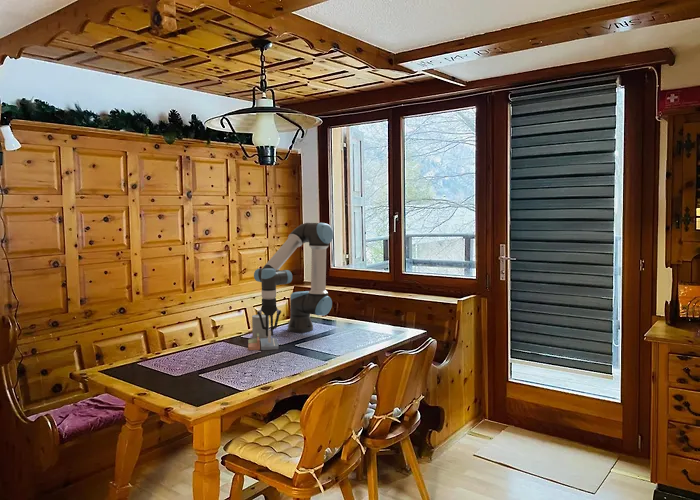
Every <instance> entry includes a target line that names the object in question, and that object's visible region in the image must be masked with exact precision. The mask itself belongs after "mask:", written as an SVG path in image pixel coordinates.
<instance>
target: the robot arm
mask: <svg viewBox="0 0 700 500" xmlns="http://www.w3.org/2000/svg"><path fill="white" fill-rule="evenodd" d="M333 239H334V231H333V228H332V227H331V225H330V224H328V223H325V222H304V223H302V224H300V225H298V226H297V227H296V228H294V229H293V230H292V231H291V232H290V233H289V234H288V237H287V239H286V240H285V242H284V243H283V244H282V245H281V246H280V247H279V248H278V249H277V251H275V253H274V254H273V256H272V257H271V258H270V259H269V260H268V261H267V262H266V264H265V265H264V266H262V267H261V268H257V269H255V270H254V273H253V279H254V280H255V282H258V283H261V308H260V309H259V310H257V311H256V315H257V314H258V315H259V318H260V321H261V325H262V329H265V330H266V336H268V343H271V338H272V337H273V336H274V330H276V329H277V327H278V322H279V318H280V315H281V314H282V310H281V309H278V307H277V298H276V297H277V286H281V285H288V284H290V283H291V282H292V281H293V274H292V272H291V270H289V269H283V270H280V269H281V268H282V267H283V265H284V264H285V263H286V262H287V260H289V258H291V256H292V255H293V254H294V252H295V251H296V250H297V248H300V247H302V245H303V244H306V243H308V247H310V249H311V261H310V262H311V263H310V264H311V265H310V266H311V267H310V290H305V291H304V290H303V291H295V292H292V293H291V294H290V299H289V300H290V302H289V303H290V306H289V307H290V318H289V322H288V325H287V331H289V332H292V333H307V332H311V331H313V330H314V325H313V321H312V319H311V315H315V316H317V317H318V316H319V317H320V316H326V315H328V314H329V313H330V311H331V309H332V307H333V301H332V298H331V297H330V296H329V292H328V290H326V287H327V286H326V285H327V283H326V282H327V281H326V280H327V279H326V278H327V275H326V274H327V249H328V248H329V247H330V244H331V243H332V241H333ZM275 313H276V317H275V321H274V315H275ZM261 314H264V315H265V316H266V327H264V323H263V319H262V316H261ZM268 316H269V322H270V328H269V329H268Z"/></svg>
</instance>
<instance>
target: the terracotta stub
mask: <svg viewBox="0 0 700 500" xmlns="http://www.w3.org/2000/svg"><path fill="white" fill-rule="evenodd" d="M247 347H248V348H247V349H248V351H259V350H261V343H260V339H259V337H257V343H248V345H247Z"/></svg>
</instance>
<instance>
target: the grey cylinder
mask: <svg viewBox="0 0 700 500" xmlns="http://www.w3.org/2000/svg"><path fill="white" fill-rule="evenodd" d="M261 316H262V319H263V323H264V327H266V316H265V315H264V313H262V314H261ZM251 318H252V319H251V320H252V321H251V322H252V323H251V325H252V328H251V330H252V332H251V333H252V337H251V339H257V333H259V340H260V339H263V338H268V336H266V330H265V329H262V325H261V321H260V318H259V315H258V314H257V313H256V314H253V315H252V316H251ZM268 329H270V315H269V316H268Z"/></svg>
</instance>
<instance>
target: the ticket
mask: <svg viewBox="0 0 700 500" xmlns="http://www.w3.org/2000/svg"><path fill="white" fill-rule="evenodd" d="M259 340H260V350H261V351H269V350H279V347H280V346H279V342H278V338H277V337H271V343H268V338H263V339H259Z"/></svg>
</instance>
